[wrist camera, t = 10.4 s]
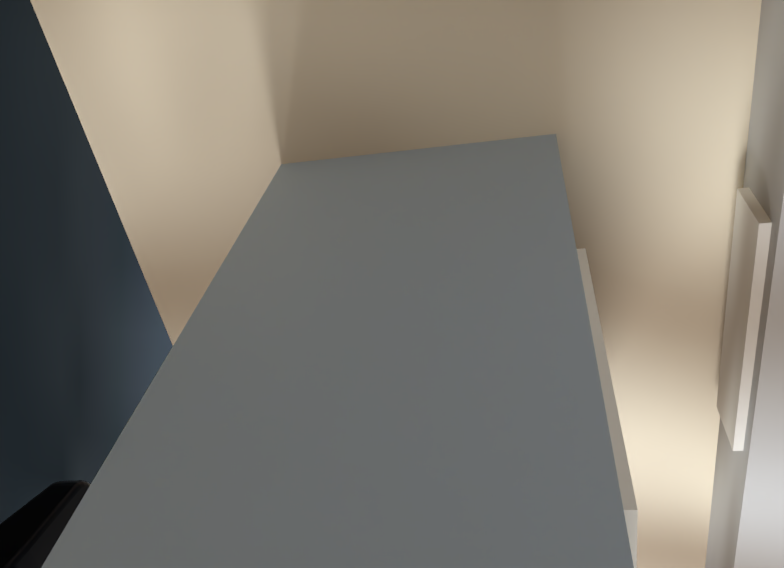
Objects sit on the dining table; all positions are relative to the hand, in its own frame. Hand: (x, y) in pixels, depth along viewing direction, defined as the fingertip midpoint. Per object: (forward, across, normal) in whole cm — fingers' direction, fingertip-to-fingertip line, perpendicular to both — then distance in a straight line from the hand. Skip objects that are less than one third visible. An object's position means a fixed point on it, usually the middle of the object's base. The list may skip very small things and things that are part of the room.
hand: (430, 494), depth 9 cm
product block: (+4, 0, 0) cm, 4 cm away
